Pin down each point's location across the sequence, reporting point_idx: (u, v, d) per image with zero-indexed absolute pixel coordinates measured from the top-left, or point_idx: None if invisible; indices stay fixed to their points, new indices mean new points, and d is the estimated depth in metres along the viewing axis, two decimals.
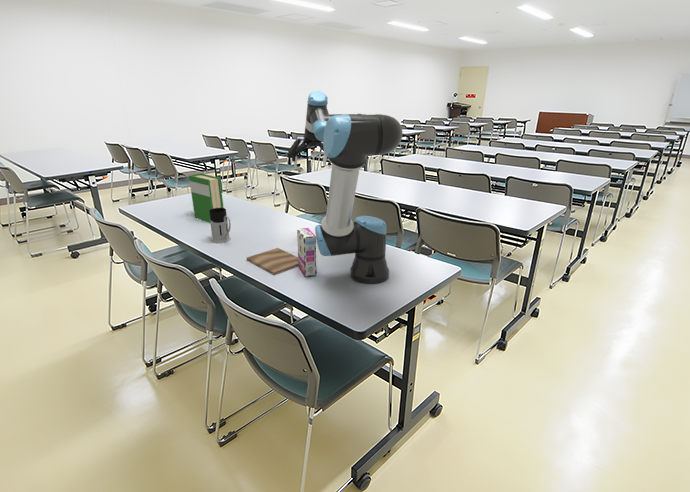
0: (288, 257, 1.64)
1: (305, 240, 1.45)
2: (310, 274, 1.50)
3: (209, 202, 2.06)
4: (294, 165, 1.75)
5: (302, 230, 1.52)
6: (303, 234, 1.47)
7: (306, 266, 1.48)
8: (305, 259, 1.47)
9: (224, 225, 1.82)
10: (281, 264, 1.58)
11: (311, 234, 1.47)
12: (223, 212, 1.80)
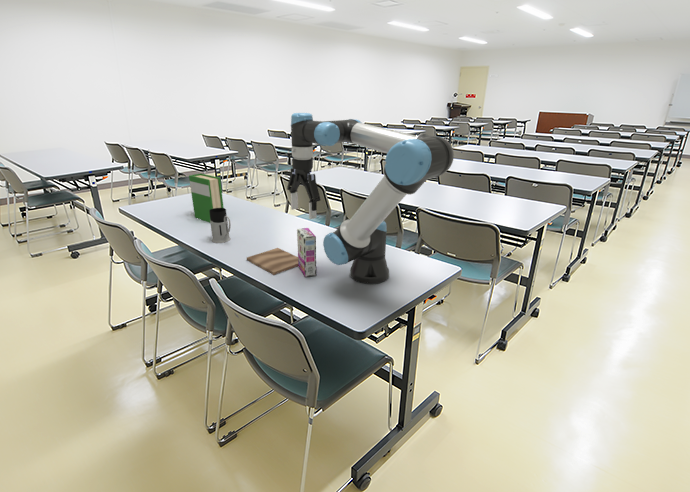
0: (288, 257, 1.64)
1: (305, 240, 1.45)
2: (310, 274, 1.50)
3: (209, 202, 2.06)
4: (314, 216, 1.44)
5: (302, 230, 1.52)
6: (303, 234, 1.47)
7: (306, 266, 1.48)
8: (305, 259, 1.47)
9: (224, 225, 1.82)
10: (281, 264, 1.58)
11: (311, 234, 1.47)
12: (223, 212, 1.80)
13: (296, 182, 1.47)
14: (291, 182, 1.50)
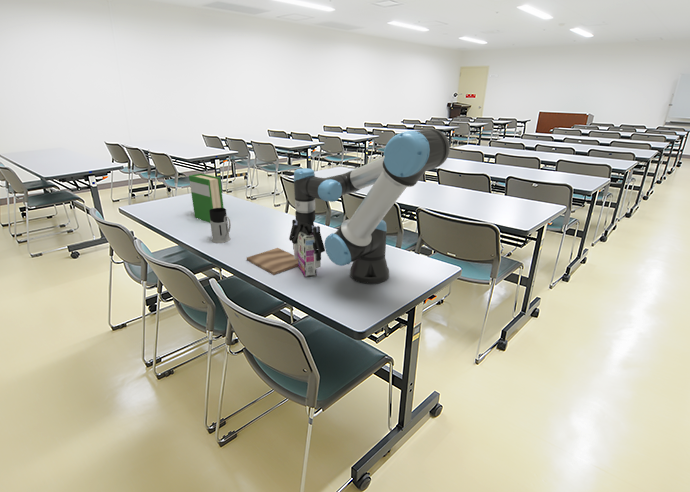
0: (288, 257, 1.64)
1: (305, 240, 1.45)
2: (310, 274, 1.50)
3: (209, 202, 2.06)
4: (318, 266, 1.50)
5: None
6: (303, 234, 1.47)
7: (306, 266, 1.48)
8: (305, 259, 1.47)
9: (224, 225, 1.82)
10: (281, 264, 1.58)
11: None
12: (223, 212, 1.80)
13: None
14: (293, 233, 1.54)
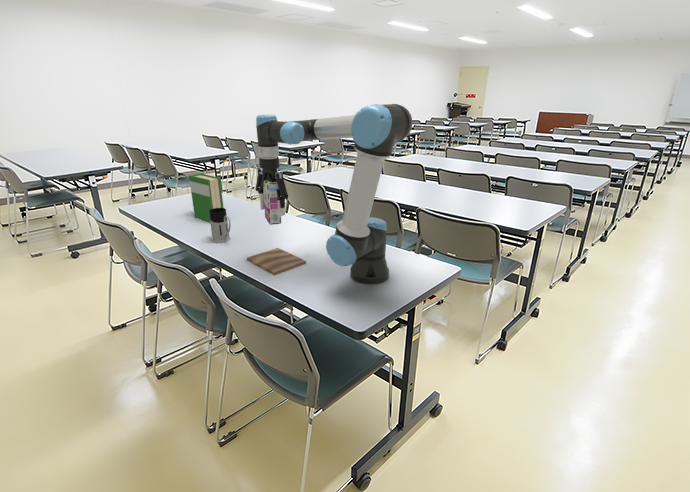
0: (288, 257, 1.64)
1: (268, 186, 1.46)
2: (275, 222, 1.51)
3: (209, 202, 2.06)
4: (283, 214, 1.51)
5: None
6: (267, 181, 1.48)
7: (270, 213, 1.50)
8: (269, 206, 1.49)
9: (224, 225, 1.82)
10: (281, 264, 1.58)
11: None
12: (223, 212, 1.80)
13: None
14: (259, 183, 1.56)
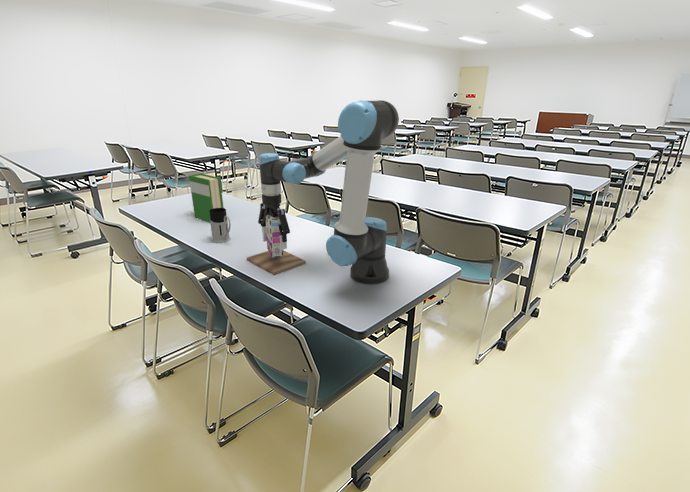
0: (288, 257, 1.64)
1: (271, 222, 1.51)
2: (277, 255, 1.57)
3: (209, 202, 2.06)
4: (285, 247, 1.56)
5: None
6: (269, 216, 1.54)
7: (272, 247, 1.55)
8: (271, 240, 1.54)
9: (224, 225, 1.82)
10: (281, 264, 1.58)
11: None
12: (223, 212, 1.80)
13: None
14: (261, 216, 1.61)
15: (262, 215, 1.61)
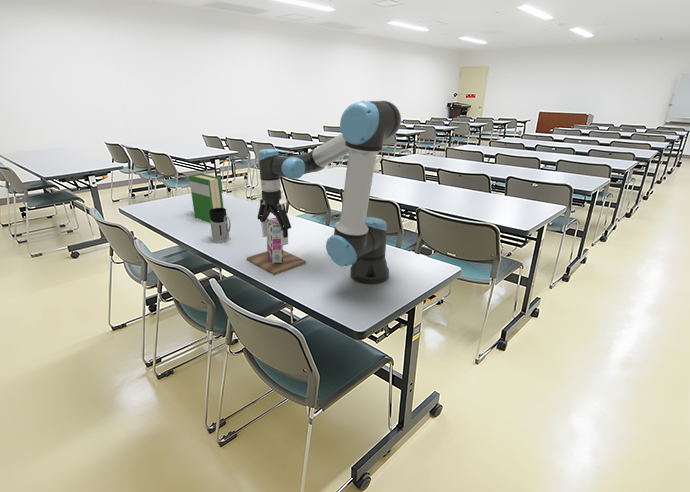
0: (288, 257, 1.64)
1: (272, 229, 1.52)
2: (277, 261, 1.58)
3: (209, 202, 2.06)
4: (286, 243, 1.55)
5: (271, 219, 1.59)
6: (271, 223, 1.55)
7: (273, 253, 1.56)
8: (272, 247, 1.55)
9: (224, 225, 1.82)
10: (281, 264, 1.58)
11: (278, 223, 1.55)
12: (223, 212, 1.80)
13: (266, 212, 1.57)
14: (261, 212, 1.60)
15: (262, 211, 1.60)
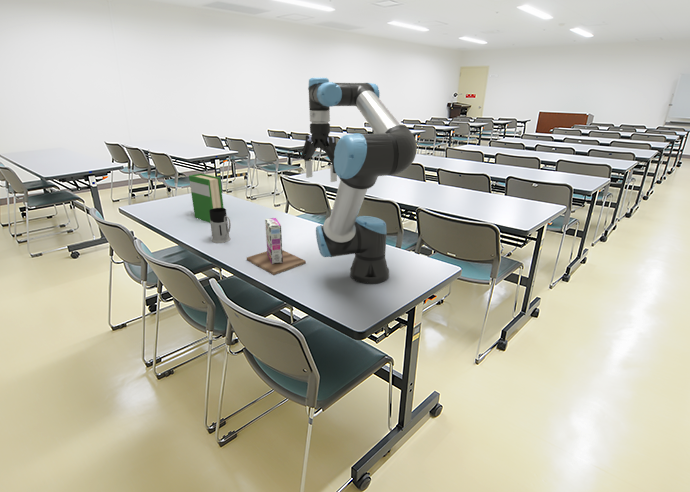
0: (288, 257, 1.64)
1: (270, 229, 1.52)
2: (276, 262, 1.58)
3: (209, 202, 2.06)
4: (335, 179, 1.48)
5: (269, 220, 1.59)
6: (269, 223, 1.55)
7: (272, 254, 1.56)
8: (271, 247, 1.55)
9: (224, 225, 1.82)
10: (281, 264, 1.58)
11: (277, 223, 1.55)
12: (223, 212, 1.80)
13: (313, 148, 1.50)
14: (306, 150, 1.53)
15: (306, 149, 1.53)
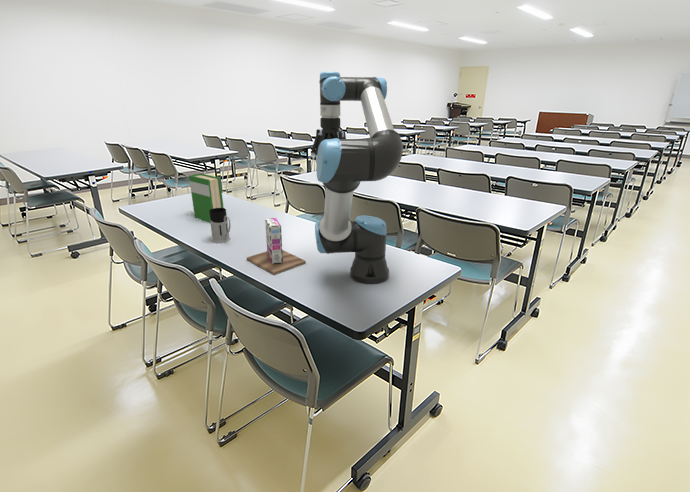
0: (288, 257, 1.64)
1: (270, 229, 1.52)
2: (276, 261, 1.58)
3: (209, 202, 2.06)
4: None
5: (269, 220, 1.59)
6: (269, 223, 1.55)
7: (272, 254, 1.56)
8: (271, 247, 1.55)
9: (224, 225, 1.82)
10: (281, 264, 1.58)
11: (277, 223, 1.55)
12: (223, 212, 1.80)
13: None
14: (316, 144, 1.53)
15: (317, 143, 1.53)
